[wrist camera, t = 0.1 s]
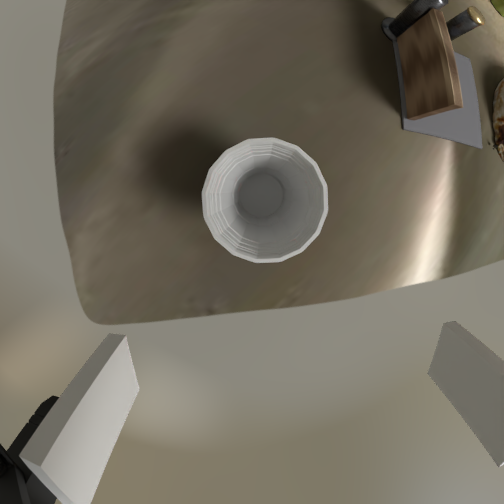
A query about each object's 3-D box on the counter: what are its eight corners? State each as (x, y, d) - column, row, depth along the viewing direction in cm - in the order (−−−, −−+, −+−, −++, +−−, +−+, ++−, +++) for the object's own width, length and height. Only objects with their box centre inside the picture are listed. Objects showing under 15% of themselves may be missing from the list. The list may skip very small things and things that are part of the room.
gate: (396, 38, 28) (433, 7, 18) (403, 40, 28) (442, 11, 18) (406, 118, 32) (454, 104, 21) (414, 120, 32) (463, 107, 21)
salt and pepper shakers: (377, 7, 28) (413, -34, 15) (446, 32, 28) (489, 7, 15) (383, 39, 29) (427, 1, 17) (454, 63, 30) (503, 42, 17)
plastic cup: (221, 146, 33) (208, 129, 22) (308, 158, 34) (337, 148, 22) (210, 232, 36) (193, 256, 24) (295, 242, 37) (317, 271, 25)
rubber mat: (390, 29, 29) (391, 28, 28) (468, 59, 29) (469, 59, 29) (402, 129, 33) (404, 129, 32) (480, 148, 33) (482, 148, 33)
